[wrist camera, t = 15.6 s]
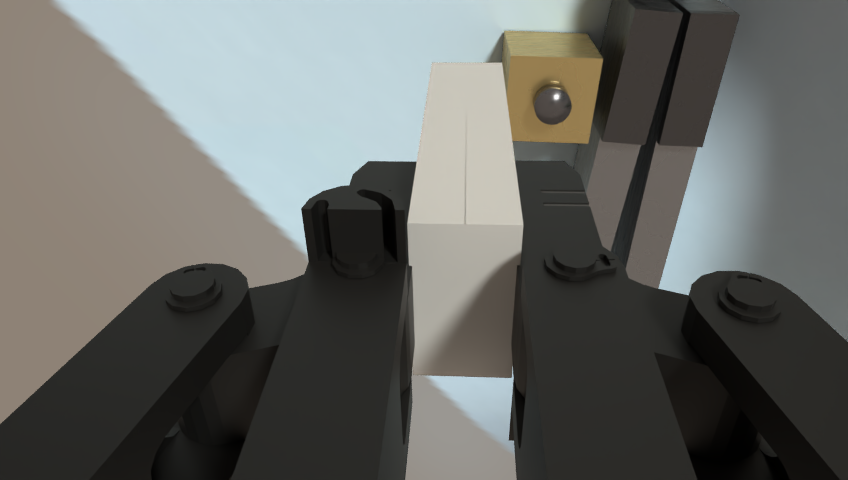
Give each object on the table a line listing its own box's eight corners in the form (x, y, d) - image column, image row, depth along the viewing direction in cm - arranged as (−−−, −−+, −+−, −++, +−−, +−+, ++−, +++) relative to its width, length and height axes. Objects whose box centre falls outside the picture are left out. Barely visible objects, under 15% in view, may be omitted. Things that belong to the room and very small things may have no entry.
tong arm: (614, -12, 30) (635, 8, 27) (657, -9, 30) (683, 13, 27) (542, 305, 40) (550, 348, 37) (573, 307, 40) (584, 351, 37)
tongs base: (641, -133, 28) (676, -125, 23) (738, -130, 27) (790, -121, 23) (562, 306, 41) (575, 362, 36) (627, 309, 41) (648, 365, 36)
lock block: (586, 33, 31) (606, 64, 27) (574, 111, 33) (591, 150, 29) (504, 30, 31) (512, 60, 27) (497, 108, 34) (503, 147, 29)
